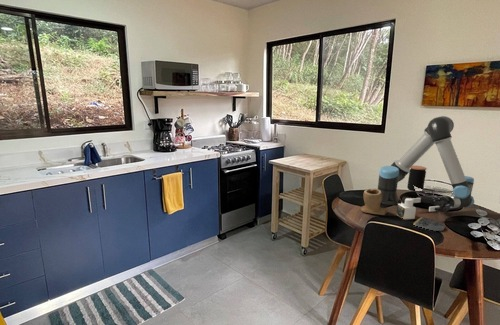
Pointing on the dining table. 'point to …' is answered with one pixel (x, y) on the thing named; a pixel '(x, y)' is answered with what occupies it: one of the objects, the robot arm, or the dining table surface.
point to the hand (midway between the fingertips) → (420, 204)
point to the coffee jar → (416, 177)
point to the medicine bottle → (406, 208)
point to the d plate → (429, 224)
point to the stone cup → (373, 202)
